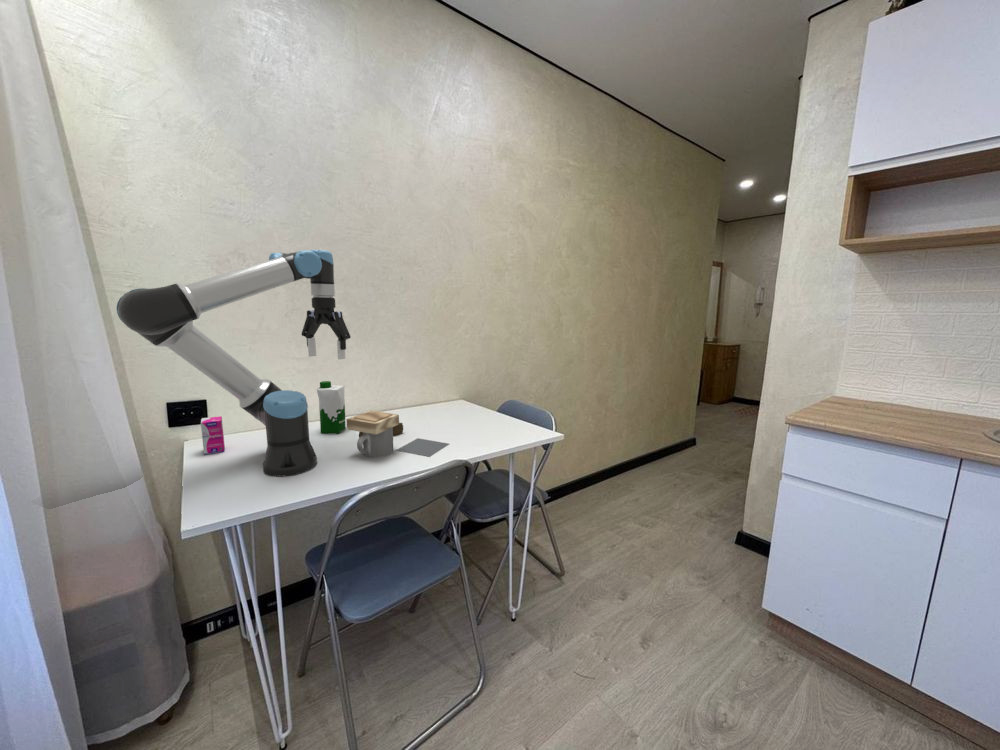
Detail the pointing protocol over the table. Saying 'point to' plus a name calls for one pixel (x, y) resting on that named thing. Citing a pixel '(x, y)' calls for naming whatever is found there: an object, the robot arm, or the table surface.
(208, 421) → the supplement box
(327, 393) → the milk carton
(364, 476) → the table surface
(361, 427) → the lid
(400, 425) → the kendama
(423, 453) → the mat
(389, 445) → the coffee mug
